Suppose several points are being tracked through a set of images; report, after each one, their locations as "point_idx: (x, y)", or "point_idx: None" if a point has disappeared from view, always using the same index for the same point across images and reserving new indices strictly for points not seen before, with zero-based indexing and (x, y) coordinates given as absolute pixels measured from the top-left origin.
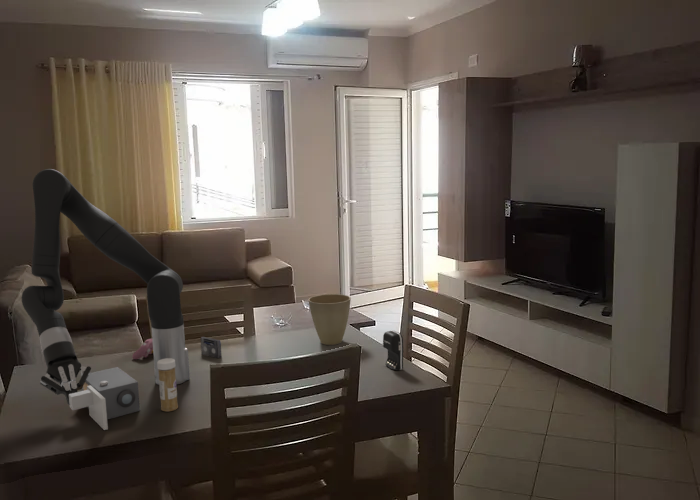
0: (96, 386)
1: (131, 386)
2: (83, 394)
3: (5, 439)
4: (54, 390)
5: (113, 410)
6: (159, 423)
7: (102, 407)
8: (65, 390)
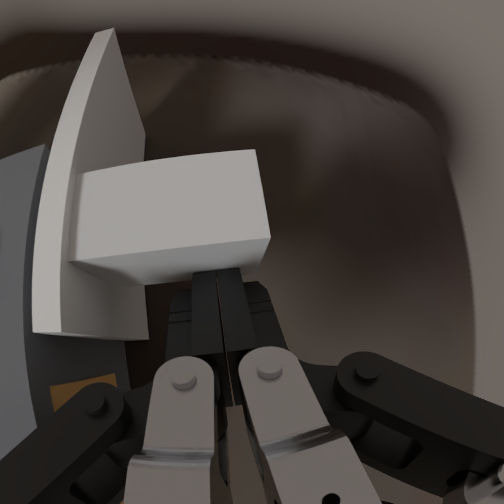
0: (9, 270)
1: None
2: (146, 164)
3: (470, 268)
4: (386, 430)
5: None
6: (17, 124)
7: (121, 61)
8: (292, 363)
